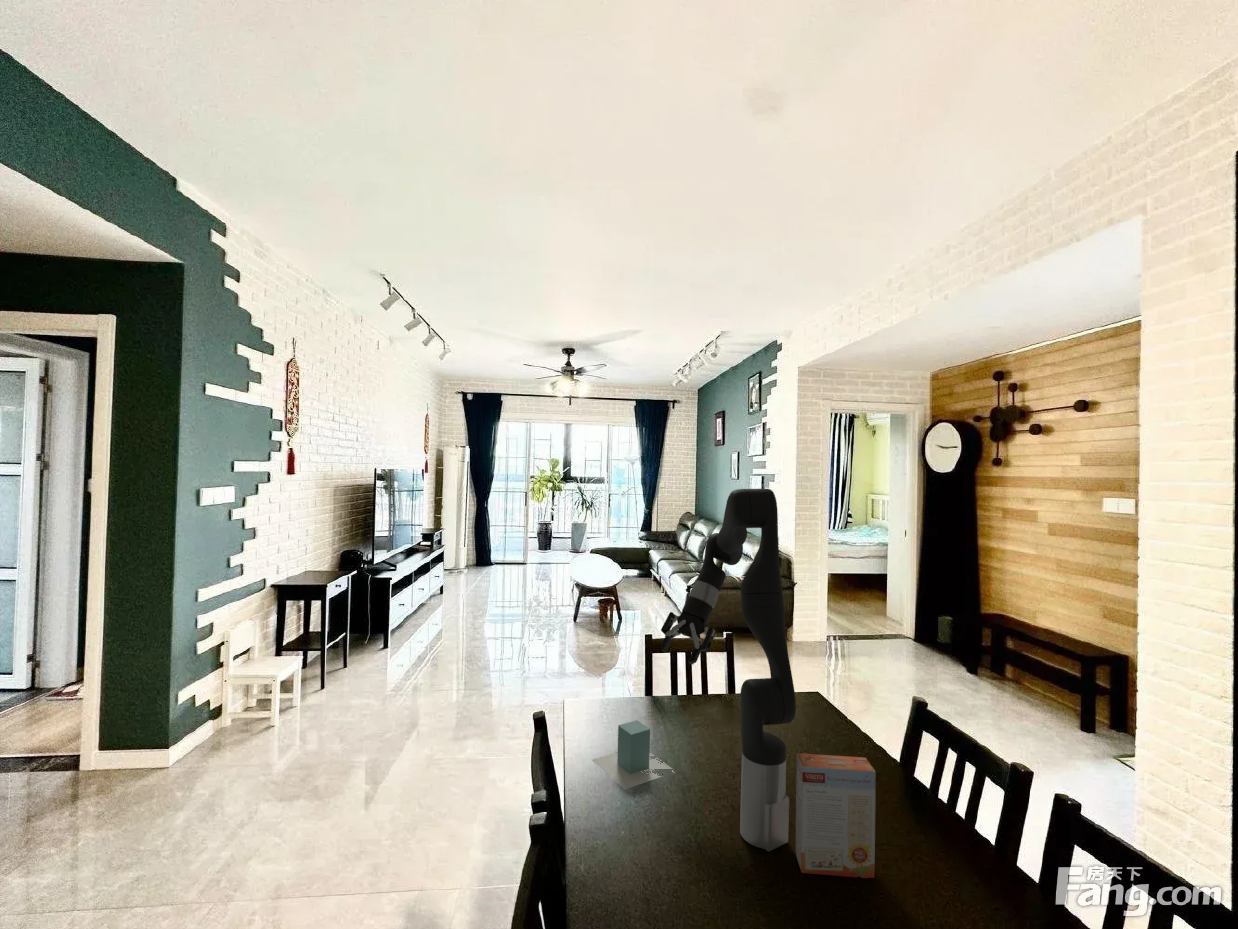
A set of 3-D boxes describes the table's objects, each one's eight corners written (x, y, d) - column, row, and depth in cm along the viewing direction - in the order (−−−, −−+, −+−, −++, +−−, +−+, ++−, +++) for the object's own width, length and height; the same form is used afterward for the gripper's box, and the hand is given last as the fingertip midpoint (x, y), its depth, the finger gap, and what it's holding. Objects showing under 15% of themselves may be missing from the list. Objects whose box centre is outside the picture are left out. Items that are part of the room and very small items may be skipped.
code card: (676, 771, 144) (676, 771, 144) (624, 790, 135) (624, 789, 135) (640, 745, 157) (640, 744, 157) (591, 760, 148) (591, 759, 148)
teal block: (649, 767, 145) (650, 729, 145) (630, 774, 142) (631, 734, 142) (635, 757, 150) (636, 720, 150) (617, 763, 147) (618, 725, 147)
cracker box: (864, 859, 113) (867, 756, 113) (875, 881, 107) (877, 772, 107) (793, 853, 114) (796, 750, 115) (800, 874, 108) (802, 766, 109)
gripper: (674, 588, 155) (649, 643, 149) (719, 604, 146) (694, 663, 140) (684, 598, 160) (660, 652, 154) (728, 614, 151) (705, 671, 146)
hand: (676, 657), depth 147 cm, fingers open, 8 cm apart
